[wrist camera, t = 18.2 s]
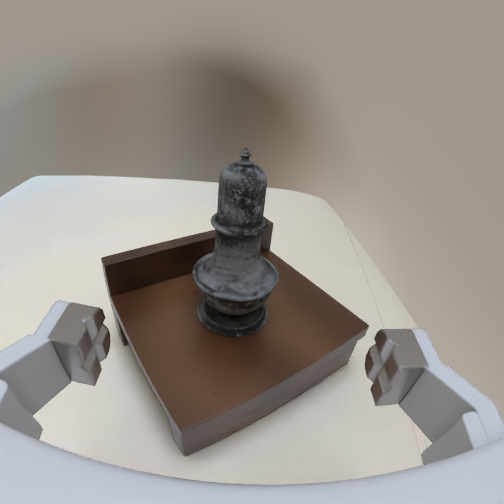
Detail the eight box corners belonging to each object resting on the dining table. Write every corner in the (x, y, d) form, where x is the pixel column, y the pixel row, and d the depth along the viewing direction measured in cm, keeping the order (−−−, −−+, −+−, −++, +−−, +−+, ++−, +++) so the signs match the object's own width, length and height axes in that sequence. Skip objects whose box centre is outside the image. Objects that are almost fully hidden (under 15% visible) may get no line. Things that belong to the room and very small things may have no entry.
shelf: (257, 283, 35) (265, 218, 31) (350, 365, 25) (382, 295, 21) (117, 331, 26) (100, 257, 22) (187, 461, 17) (175, 404, 13)
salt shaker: (189, 337, 20) (186, 157, 14) (196, 285, 25) (199, 136, 19) (276, 341, 21) (308, 165, 15) (268, 288, 26) (289, 142, 20)
